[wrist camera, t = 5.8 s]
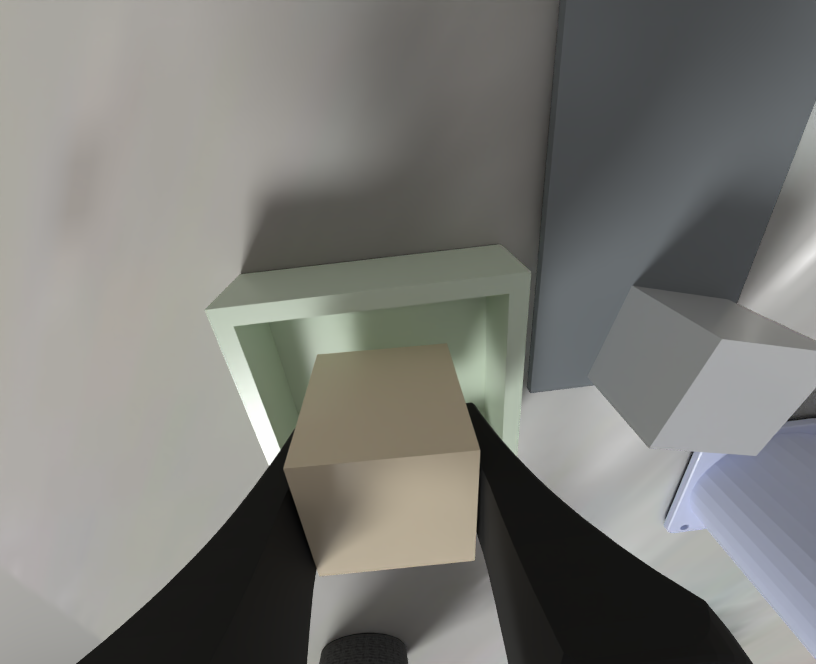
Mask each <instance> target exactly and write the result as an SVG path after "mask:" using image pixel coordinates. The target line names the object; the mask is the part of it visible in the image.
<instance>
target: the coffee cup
mask: <svg viewBox="0 0 816 664" xmlns="http://www.w3.org/2000/svg"><path fill="white" fill-rule="evenodd" d="M319 664H408V659H407V651H406V647H405V645H404V644H403V643H402V642H401V641H400V640H398V639H396V638H394V637H391V636H388V635H383V634H357V635H351V636H347V637H343V638H340V639H338V640H335V641H333V642H331V643H330V644H328V645H327V646H326V647H325V648H324V649H323V651H322V653H321V658H320V663H319Z"/></svg>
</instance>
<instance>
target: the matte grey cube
mask: <svg viewBox="0 0 816 664" xmlns="http://www.w3.org/2000/svg"><path fill="white" fill-rule="evenodd" d="M587 377H588V378H589V379H590V381H591V382H592V383H593V384H594V385H595V386H596V387H597V389H598V390H599V391H600V392H601V393H602V394H603V396H604V397H605V398H606V399H607V400H608V401H609V403H610V404H611V405H612V406H613V407H614V408H615V409H616V411H617V412H618V413H619V414H620V415H621V416H622V418H623V419H624V420H625V421H626V422H627V423H628V424H629V426H630V427H631V428H632V429H633V430H634V431H635V433H636V434H637V435H638V436H639V437H640V438H641V440H642V441H643V442H644V443H645V444H646V445H647V446H648V448H652V449H666V450H680V451H694V452H708V453H722V454H736V455H750V456H757V455H758V453H759V452H760V451H761V450H762V449H763V448H764V447H765V445H766V444H767V443H768V442H769V441H770V440H771V439H772V437H773V436H774V435H775V434H776V433H777V432H778V431H779V429H780V428H781V427H782V426H783V425H784V424H785V423H786V421H787V420H788V419H789V418H790V417H791V416H792V415H793V413H794V412H795V411H796V410H797V409H798V408H799V407H800V405H801V404H802V403H803V402H804V401H805V400H806V399H807V397H808V396H809V395H810V394H811V393H812V392H813V391H814V389H815V388H816V341H815V340H813V339H811V338H809V337H807V336H805V335H803V334H801V333H798V332H796V331H794V330H792V329H790V328H788V327H786V326H784V325H781V324H779V323H777V322H775V321H773V320H771V319H769V318H767V317H764V316H762V315H760V314H758V313H756V312H754V311H752V310H750V309H747V308H745V307H743V306H741V305H739V304H737V303H735V302H733V301H730V300H728V299H722V298H715V297H708V296H701V295H694V294H687V293H680V292H673V291H666V290H659V289H652V288H645V287H638V286H632V287H631V289H630V291H629V293H628V295H627V297H626V299H625V301H624V303H623V305H622V307H621V309H620V311H619V313H618V315H617V317H616V319H615V321H614V323H613V325H612V327H611V329H610V332H609V334H608V336H607V338H606V340H605V342H604V344H603V346H602V348H601V350H600V352H599V354H598V356H597V358H596V360H595V362H594V364H593V366H592V368H591V370H590V372H589V374H588V376H587Z"/></svg>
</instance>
